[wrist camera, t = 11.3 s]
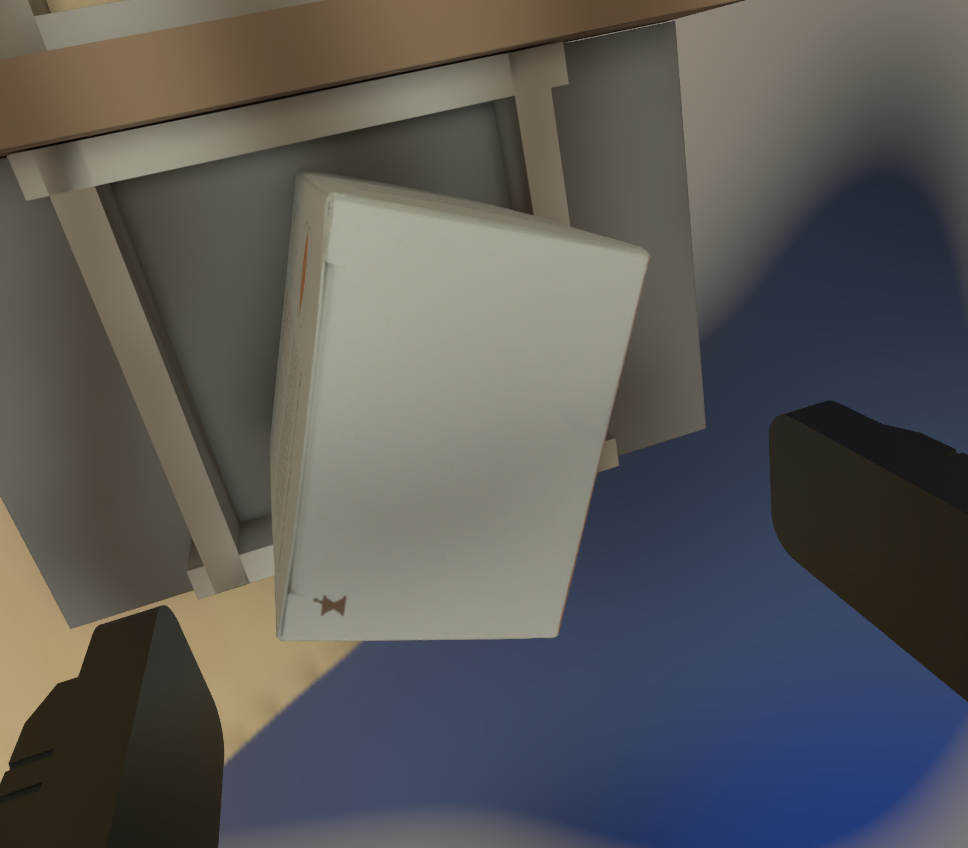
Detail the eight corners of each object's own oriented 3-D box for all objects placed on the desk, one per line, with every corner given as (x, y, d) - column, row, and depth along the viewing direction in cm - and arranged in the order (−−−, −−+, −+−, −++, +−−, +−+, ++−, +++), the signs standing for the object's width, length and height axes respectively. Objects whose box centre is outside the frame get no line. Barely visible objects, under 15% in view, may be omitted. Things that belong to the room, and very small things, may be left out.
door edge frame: (608, -685, 16) (739, -991, 12) (697, 422, 28) (782, 478, 23) (-595, -666, 12) (-1069, -1110, 8) (74, 617, 24) (32, 731, 19)
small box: (443, 450, 24) (561, 651, 15) (265, 437, 23) (272, 656, 13) (489, 198, 22) (666, 249, 12) (293, 161, 20) (328, 187, 11)
